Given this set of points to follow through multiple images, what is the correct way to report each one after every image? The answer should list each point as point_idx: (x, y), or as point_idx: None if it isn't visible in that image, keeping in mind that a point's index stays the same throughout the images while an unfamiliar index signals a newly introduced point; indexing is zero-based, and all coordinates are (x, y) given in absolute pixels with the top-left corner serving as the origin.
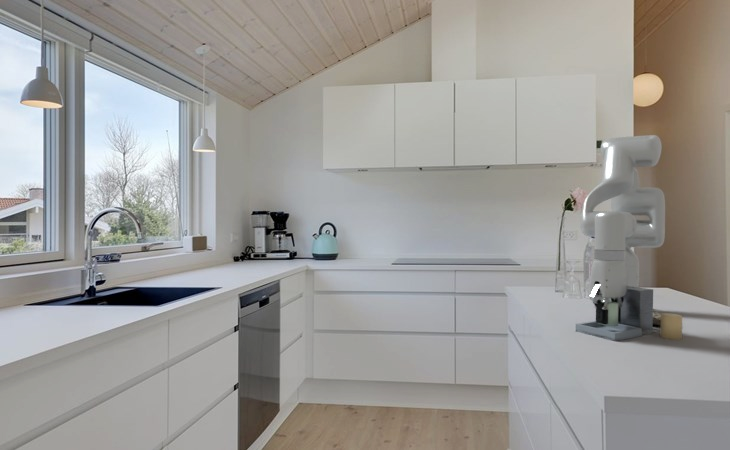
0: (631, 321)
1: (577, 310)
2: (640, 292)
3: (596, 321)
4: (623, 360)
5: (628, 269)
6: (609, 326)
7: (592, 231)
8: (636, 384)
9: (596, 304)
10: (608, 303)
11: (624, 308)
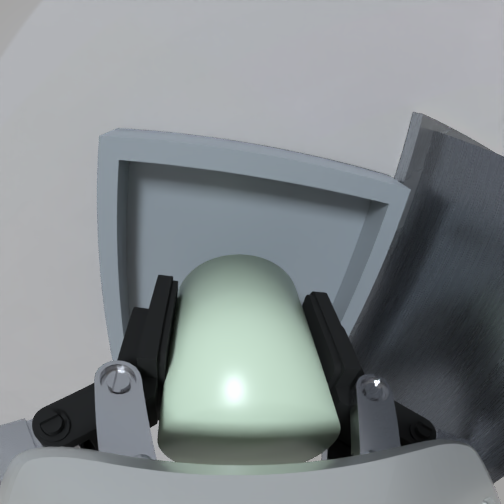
0: (373, 355)
1: None
2: None
3: (158, 279)
4: (5, 391)
5: None
6: (360, 236)
7: None
8: None
9: (71, 412)
10: (190, 458)
11: (422, 377)
